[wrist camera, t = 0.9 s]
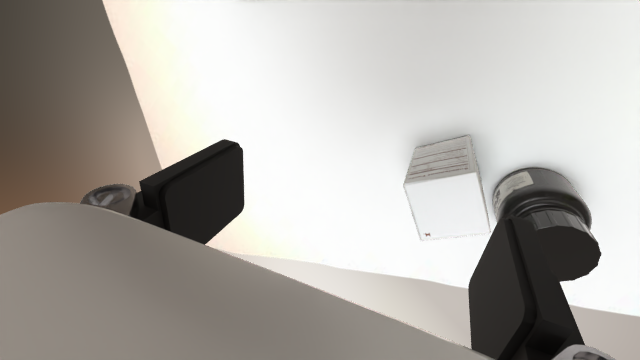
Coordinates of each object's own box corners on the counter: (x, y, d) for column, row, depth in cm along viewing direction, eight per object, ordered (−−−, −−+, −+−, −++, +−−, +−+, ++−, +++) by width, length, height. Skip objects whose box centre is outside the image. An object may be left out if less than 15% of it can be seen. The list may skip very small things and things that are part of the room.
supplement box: (482, 183, 42) (492, 236, 31) (426, 192, 45) (418, 243, 35) (471, 132, 39) (478, 171, 29) (413, 146, 43) (400, 185, 32)
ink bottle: (501, 159, 39) (518, 204, 29) (585, 168, 37) (635, 222, 27) (484, 222, 44) (494, 280, 34) (558, 235, 41) (592, 302, 31)
